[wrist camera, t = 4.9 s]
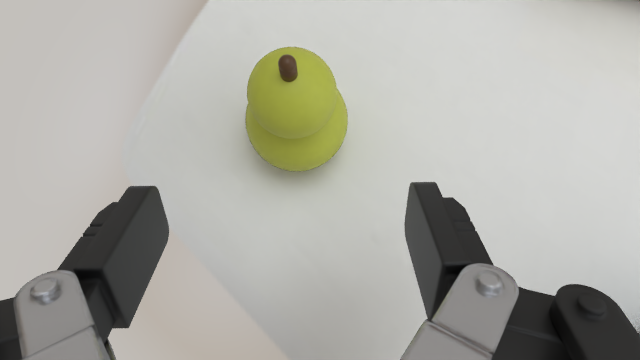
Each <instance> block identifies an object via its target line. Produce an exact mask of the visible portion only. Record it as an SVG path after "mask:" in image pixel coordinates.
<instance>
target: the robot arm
mask: <svg viewBox="0 0 640 360" xmlns="http://www.w3.org/2000/svg"><path fill="white" fill-rule="evenodd" d="M168 236H169V226H168V221H167V218H166V214H165V211H164V207H163V204H162V201H161V197H160V194H159V191H158V189H157V187H156V186H130V187H129V188H128V189H127V190H126V191H125V193H124V194H123V196H122V197H121V199H120V200H119V202H113V203H111V204H110V205H108V206H107V207H106V208H104V209H103V210H102V211H100V212H99V213H98V214H97V216H96V217H95V218H94V220H93V221H92V222H91V224H90V227H88V228H87V229H86V231H85V232H84V233H83V237H81V238H80V239H79V241H78V242H77V243H76V245H75V246H74V247H73V249H72V250H71V252H70V253H69V254H68V256H67V257H66V258H65V260H64V261H63V263H62V264H61V265H60V267H59V268H58V269H57V270H56V271H51V272H47V273H45V274H42V275H40V276H38V277H36V278H34V279H32V280H31V281H29V282H28V283H26V284H25V285H24V286H23V287H22V288H21V289H20V290H19V291H18V293H17V294H16V297H14V298H10V299H6V300H2V301H0V360H116V358H115V355H114V352H113V350H112V348H111V344H110V342H109V340H108V336H109V334H110V332H111V330H112V328H129V326H130V324H131V321H132V319H133V317H134V315H135V313H136V310H137V308H138V306H139V304H140V302H141V299H142V297H143V295H144V292H145V290H146V288H147V286H148V283H149V281H150V279H151V277H152V275H153V273H154V270H155V268H156V266H157V264H158V262H159V259H160V257H161V255H162V253H163V251H164V248H165V246H166V244H167V241H168ZM405 237H406V242H407V245H408V249H409V252H410V256H411V260H412V263H413V267H414V270H415V274H416V278H417V281H418V285H419V288H420V292H421V296H422V299H423V303H424V307H425V310H426V314H427V317H428V319H426V320H425V321H424V323H423V324H422V325H421V327H420V328H419V330H418V332H417V333H416V335H415V336H414V338H413V340H412V341H411V343H410V344H409V346H408V348H407V349H406V351H405V353H404V354H403V356H402V357H401V359H400V360H640V336H639V334H638V333H637V331H636V330H635V328H634V327H633V326H632V324H631V323H630V321H629V320H628V318H627V317H626V315H625V314H624V313H623V311H622V310H621V308H620V307H619V306H618V305H617V303H615V302H614V301H613V300H612V299H611V298H610V297H608V296H607V295H605V294H604V293H602V292H600V291H598V290H596V289H594V288H591V287H588V286H584V285H578V284H570V285H565V286H563V287H561V288H560V289H559V290H558V291H557V293H556V295H555V296H552V295H548V294H543V293H539V292H535V291H530V290H527V289H523V288H521V287H518V285H517V283H516V282H515V280H514V279H513V278H512V277H511V276H510V275H509V274H508V273H507V272H505V271H504V270H502V269H500V268H498V267H496V266H494V265H493V263H492V261H491V259H490V257H489V255H488V253H487V251H486V249H485V247H484V245H483V243H482V241H481V239H480V237H479V235H478V233H477V231H475V227H474V225H473V224H472V222H470V218H469V216H468V214H467V212H466V210H465V208H464V207H463V206H462V205H461V204H460V203H458V202H457V201H456V200H455V199H454V198H443V197H442V195H441V193H440V190H439V188H438V186H437V184H436V183H435V182H412V183H411V184H410V187H409V193H408V201H407V208H406V216H405Z"/></svg>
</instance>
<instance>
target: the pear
mask: <svg viewBox="0 0 640 360" xmlns="http://www.w3.org/2000/svg"><path fill="white" fill-rule="evenodd" d="M247 98H248V105H247V110H246V129H247V133H248V136H249V139H250V142H251V143H252V145H253V147H254V149H255V150H256V151H257V153H258V154H259V155H260V156H261V157H262V158H263V159H264V160H266V161H267V162H268V163H270V164H272V165H273V166H276V167H278V168H280V169H284V170H288V171H306V170H310V169H314V168H316V167H319V166H320V165H322V164H324V163H325V162H327V161H328V160H329V159H331V158H332V157H333V156H334V155H335V153H336V152H337V151H338V150H339V148H340V146H341V145H342V142H343V140H344V138H345V135H346V131H347V109H346V106H345V103H344V100H343V98H342V96H341V94H340V92H339V91H338V89H337V87H336V82H335V78H334V76H333V74H332V71H331V70H330V68H329V66H328V65H327V64H326V63H325V62H324V61H323V60H322V59H321V58H320V57H319V56H318V55H316V54H315V53H313V52H311V51H308V50H306V49H303V48H298V47H285V48H280V49H277V50H274V51H272V52H270V53H268V54H267V55H266V56H264V57H263V58H262V59H261V60H260V61H259V62H258V63H257V64H256V66H255V67H254V69H253V71H252V73H251V75H250V78H249V81H248V86H247Z"/></svg>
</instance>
